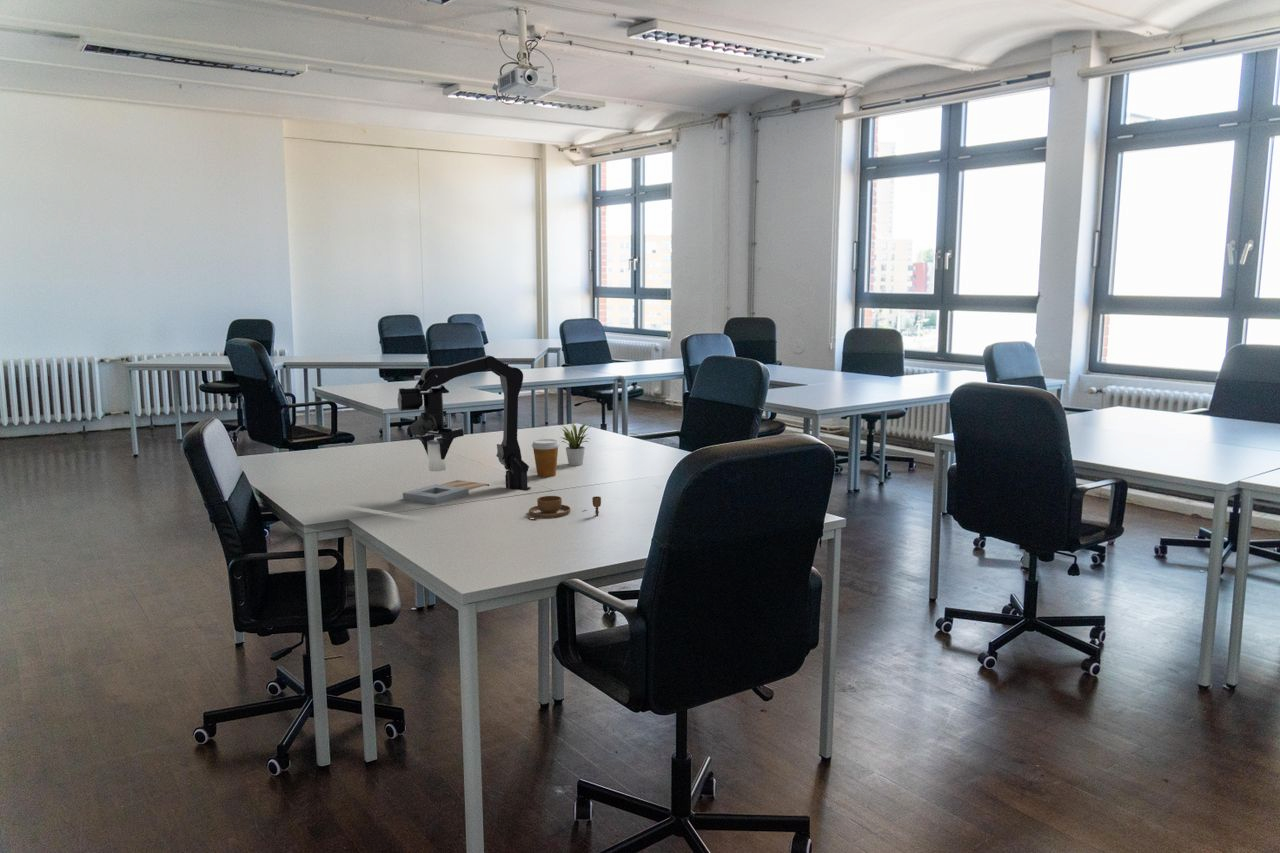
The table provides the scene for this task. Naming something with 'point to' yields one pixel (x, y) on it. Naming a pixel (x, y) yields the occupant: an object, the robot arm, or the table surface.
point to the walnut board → (465, 484)
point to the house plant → (575, 444)
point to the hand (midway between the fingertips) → (436, 458)
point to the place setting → (556, 507)
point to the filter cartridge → (435, 456)
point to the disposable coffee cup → (546, 456)
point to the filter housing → (435, 494)
